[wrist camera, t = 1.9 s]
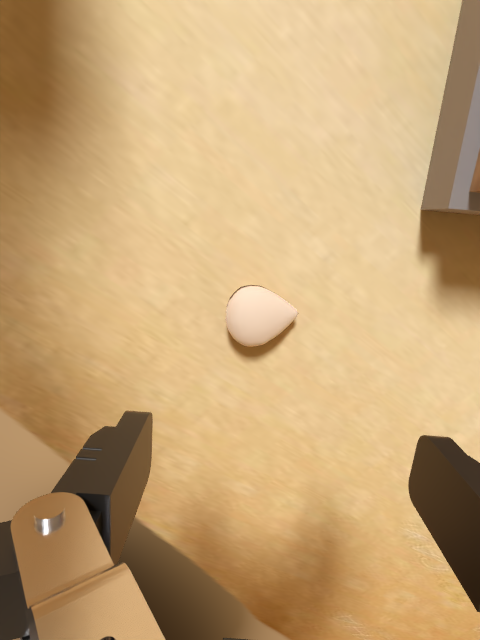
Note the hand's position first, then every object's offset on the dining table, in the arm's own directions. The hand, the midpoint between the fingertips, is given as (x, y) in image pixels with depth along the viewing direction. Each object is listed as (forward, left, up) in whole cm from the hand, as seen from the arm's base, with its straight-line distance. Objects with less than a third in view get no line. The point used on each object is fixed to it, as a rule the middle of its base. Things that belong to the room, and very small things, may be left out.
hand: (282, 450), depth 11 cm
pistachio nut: (0, 0, -17) cm, 17 cm away
